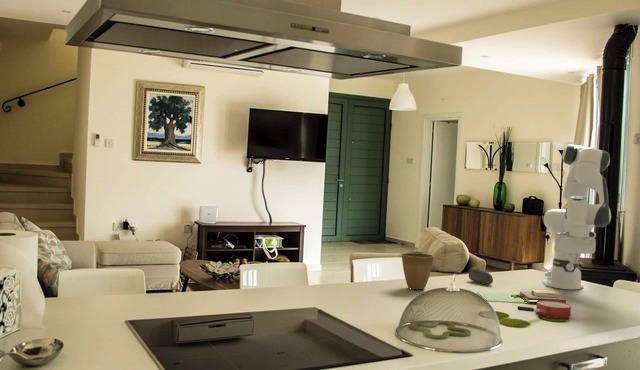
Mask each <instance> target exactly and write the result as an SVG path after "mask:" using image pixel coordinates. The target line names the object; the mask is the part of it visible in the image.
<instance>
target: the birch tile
mask: <svg viewBox="0 0 640 370" xmlns="http://www.w3.org/2000/svg"><path fill="white" fill-rule="evenodd" d="M531 292H532V293H531V294H533V295H534V296H536V297H556V298H558V297H559V296H560V294H559V293H558V292H557V291H554V290H544V289H543V290H541V289H531Z"/></svg>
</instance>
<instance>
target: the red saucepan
mask: <svg viewBox="0 0 640 370" xmlns="http://www.w3.org/2000/svg"><path fill="white" fill-rule="evenodd" d="M535 304H536V307H535V308H534V307H530V306H521V305H519V306H517V310H518V311H521V312H530V313H532V312H536V314H537V315H538V316H542V315H545V316H544V317H546V316H549V317H548V318H551V317H557V318H556V319H568V318H571V314H572V305H571V304H570V303H567V302H566V303H563V302H557V301H546V300H543V301H537V303H535Z"/></svg>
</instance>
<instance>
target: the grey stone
mask: <svg viewBox="0 0 640 370" xmlns="http://www.w3.org/2000/svg"><path fill="white" fill-rule="evenodd" d="M468 270H469V271H468V278H469V280H470V281H472V282H474V283H477V284H481V285H485V286H486V285H492V283H493V282H494V278H493V276H492V274H490V273H489V272H488V271H485V270H483V269H481V268H478V267H471V268H470V269H468Z"/></svg>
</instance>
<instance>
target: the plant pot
mask: <svg viewBox="0 0 640 370" xmlns="http://www.w3.org/2000/svg"><path fill="white" fill-rule="evenodd" d="M434 259H435V255H431V254H429V253H419V252H416V253H415V252H406V253H401V262H402V269H403V273H404V275H403V276H404V279H405V282H406V285H407V289H409V288H411V289H424V290H425V289H426V286H427V284H428V282H429V278H430V276H431V271H432V267H433V263H434ZM411 289H410V290H411Z"/></svg>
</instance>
